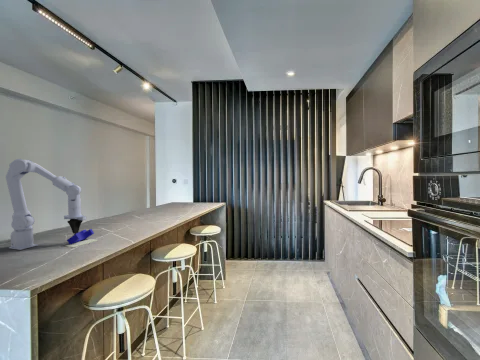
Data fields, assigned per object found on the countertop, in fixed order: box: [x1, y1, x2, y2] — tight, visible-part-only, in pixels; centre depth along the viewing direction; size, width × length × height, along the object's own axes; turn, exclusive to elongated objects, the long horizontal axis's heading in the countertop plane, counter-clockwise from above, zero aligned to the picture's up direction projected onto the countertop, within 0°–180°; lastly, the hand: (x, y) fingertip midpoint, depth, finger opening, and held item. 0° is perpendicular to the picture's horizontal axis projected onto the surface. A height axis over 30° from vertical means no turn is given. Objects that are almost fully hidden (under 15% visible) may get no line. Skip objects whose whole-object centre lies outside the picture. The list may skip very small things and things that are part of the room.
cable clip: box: [66, 228, 95, 245], centre depth 138 cm, size 12×4×6 cm
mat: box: [65, 238, 99, 248], centre depth 135 cm, size 6×14×1 cm, turn 158°
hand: (75, 233), depth 137 cm, fingers closed
